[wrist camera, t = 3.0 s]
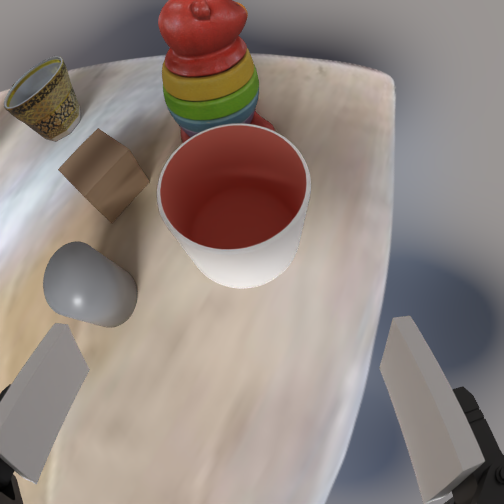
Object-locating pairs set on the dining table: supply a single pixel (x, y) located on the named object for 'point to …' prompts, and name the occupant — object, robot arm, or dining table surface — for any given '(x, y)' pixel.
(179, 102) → the stacking bear
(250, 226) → the cup
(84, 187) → the walnut block
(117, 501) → the dining table surface
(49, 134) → the ceramic cup
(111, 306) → the grey rounded cylinder
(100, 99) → the dining table surface
